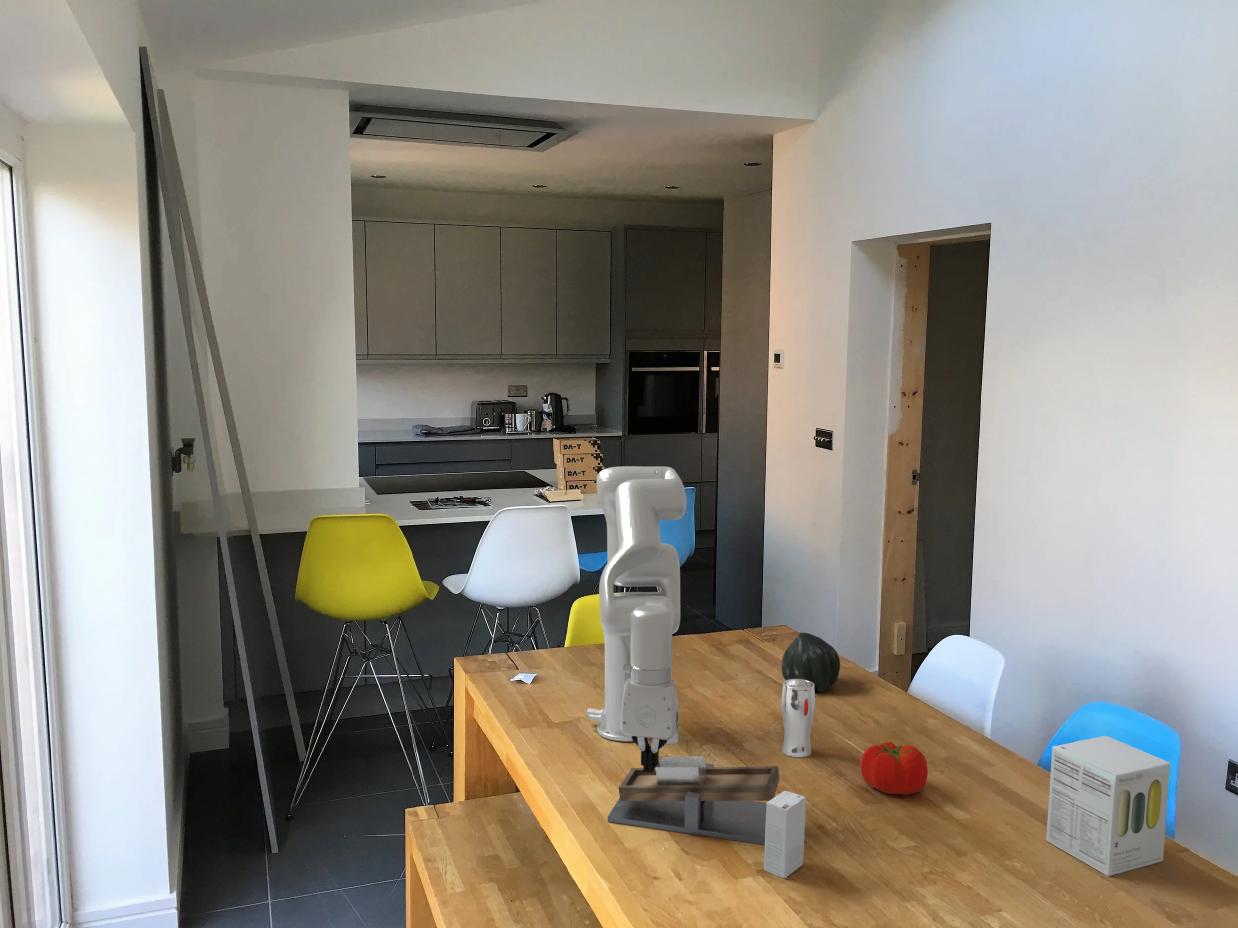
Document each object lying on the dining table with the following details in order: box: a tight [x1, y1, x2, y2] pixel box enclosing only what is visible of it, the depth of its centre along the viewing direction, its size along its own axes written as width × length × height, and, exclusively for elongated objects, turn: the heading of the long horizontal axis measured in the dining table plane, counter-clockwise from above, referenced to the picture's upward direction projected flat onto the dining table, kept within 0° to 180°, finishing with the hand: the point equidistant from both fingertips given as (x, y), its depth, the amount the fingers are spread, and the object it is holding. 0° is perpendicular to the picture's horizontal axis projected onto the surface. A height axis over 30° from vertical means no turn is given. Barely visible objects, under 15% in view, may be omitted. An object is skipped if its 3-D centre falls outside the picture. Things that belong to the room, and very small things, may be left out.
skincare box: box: [763, 790, 807, 879], centre depth 161 cm, size 6×4×12 cm
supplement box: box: [1045, 735, 1171, 877], centre depth 167 cm, size 13×13×18 cm
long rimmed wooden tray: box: [618, 765, 780, 802], centre depth 179 cm, size 28×9×2 cm, turn 74°
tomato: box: [860, 741, 929, 796], centre depth 192 cm, size 13×12×8 cm
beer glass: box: [781, 679, 816, 759], centre depth 208 cm, size 7×7×15 cm
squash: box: [781, 632, 841, 692], centre depth 250 cm, size 14×15×15 cm
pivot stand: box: [607, 762, 767, 846], centre depth 179 cm, size 31×15×7 cm, turn 74°
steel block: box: [655, 755, 707, 785], centre depth 179 cm, size 8×5×4 cm, turn 72°
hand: (649, 769), depth 181 cm, fingers closed
